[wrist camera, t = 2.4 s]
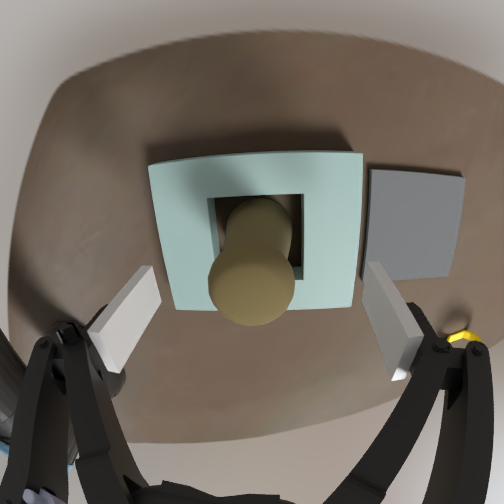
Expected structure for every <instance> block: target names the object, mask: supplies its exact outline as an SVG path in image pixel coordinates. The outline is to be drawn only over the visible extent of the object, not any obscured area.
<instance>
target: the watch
mask: <svg viewBox="0 0 504 504" xmlns="http://www.w3.org/2000/svg"><path fill="white" fill-rule="evenodd" d="M460 338H465V339H469V340H470V341H479V342H482V341H481V340H480V338H479V337H478V336H477V335H476V334H475V333H473V332H471V331H467V330H463V331H460V332H458V333H455V334H452V335H449V336H448V338H447V341H448V342H452V341H455V340H458V339H460Z"/></svg>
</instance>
